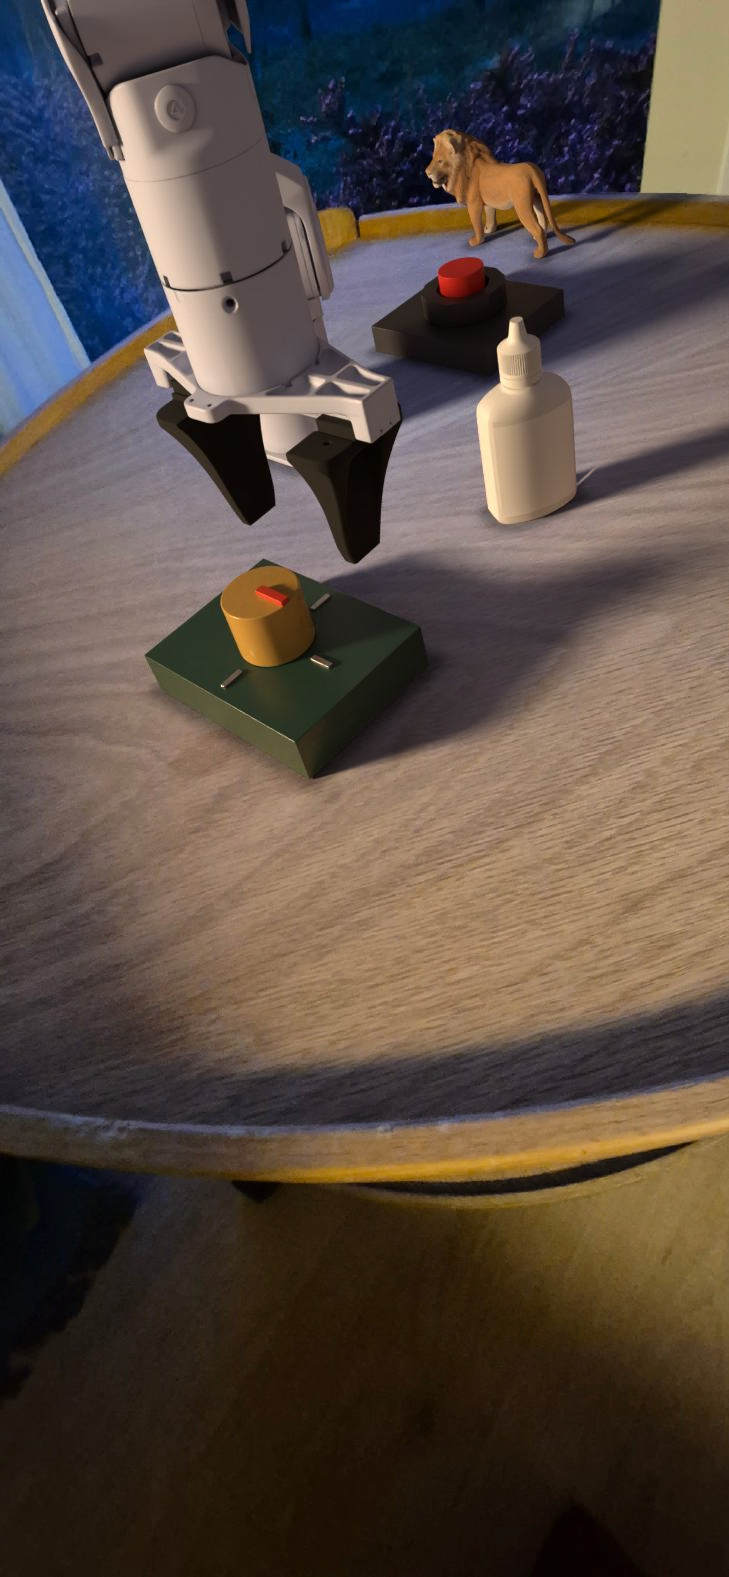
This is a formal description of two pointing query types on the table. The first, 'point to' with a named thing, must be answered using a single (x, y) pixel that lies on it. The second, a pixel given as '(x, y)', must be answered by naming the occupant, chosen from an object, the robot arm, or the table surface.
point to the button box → (466, 323)
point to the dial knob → (268, 616)
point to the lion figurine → (492, 187)
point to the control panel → (294, 676)
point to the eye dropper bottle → (526, 434)
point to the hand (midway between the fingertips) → (309, 532)
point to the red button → (461, 277)
